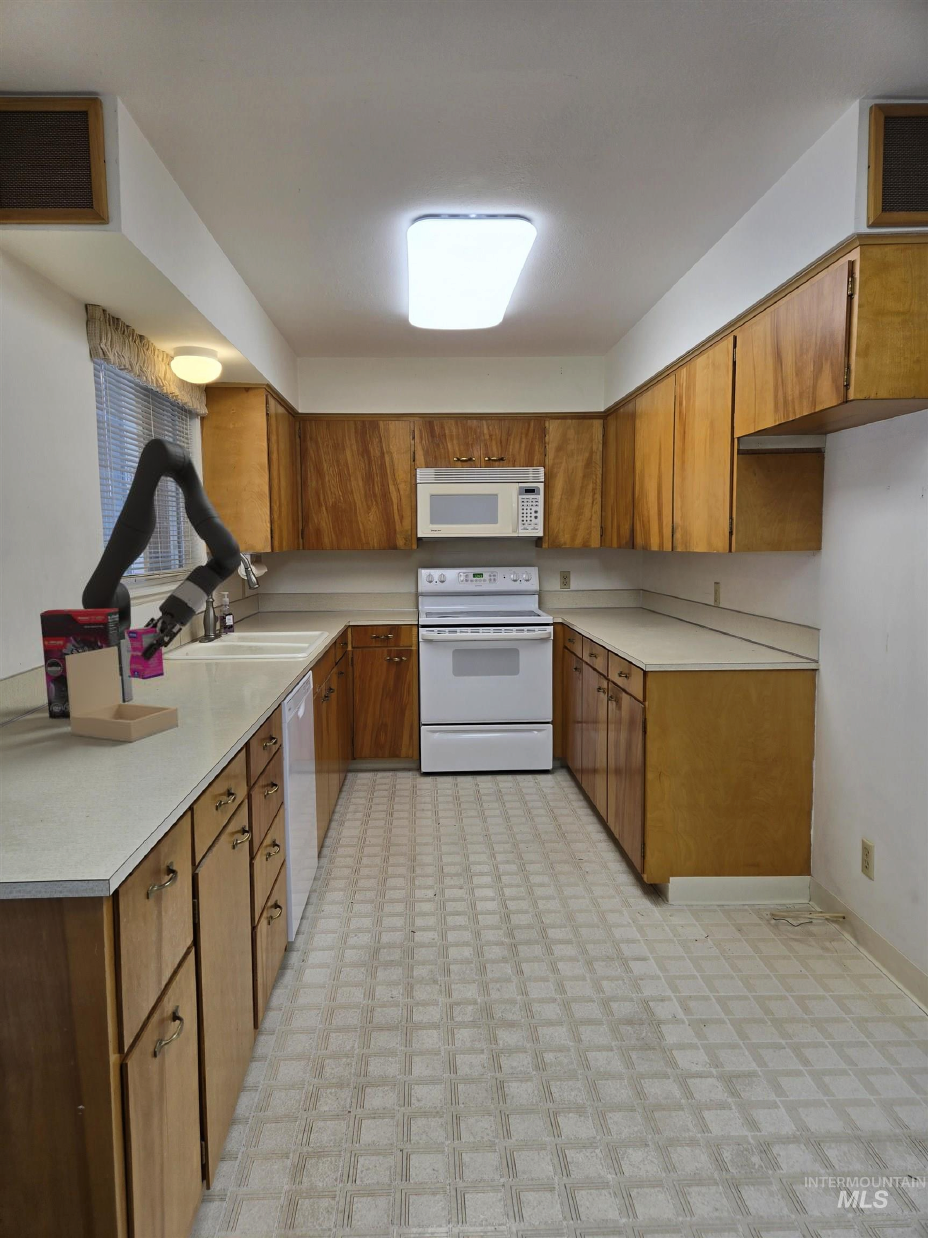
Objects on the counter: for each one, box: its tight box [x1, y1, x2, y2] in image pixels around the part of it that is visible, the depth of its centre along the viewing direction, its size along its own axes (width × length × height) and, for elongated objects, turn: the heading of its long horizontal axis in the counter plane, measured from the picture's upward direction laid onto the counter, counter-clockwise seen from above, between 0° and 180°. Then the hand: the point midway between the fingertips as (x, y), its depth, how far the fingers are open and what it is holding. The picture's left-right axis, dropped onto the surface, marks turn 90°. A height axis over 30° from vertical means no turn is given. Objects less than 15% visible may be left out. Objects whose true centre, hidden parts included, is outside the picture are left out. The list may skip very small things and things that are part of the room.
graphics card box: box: [39, 608, 126, 719], centre depth 178 cm, size 17×7×27 cm, turn 91°
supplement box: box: [125, 626, 165, 680], centre depth 166 cm, size 6×6×12 cm
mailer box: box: [65, 647, 179, 743], centre depth 164 cm, size 18×14×18 cm
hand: (138, 656), depth 165 cm, fingers closed on supplement box, 7 cm apart
